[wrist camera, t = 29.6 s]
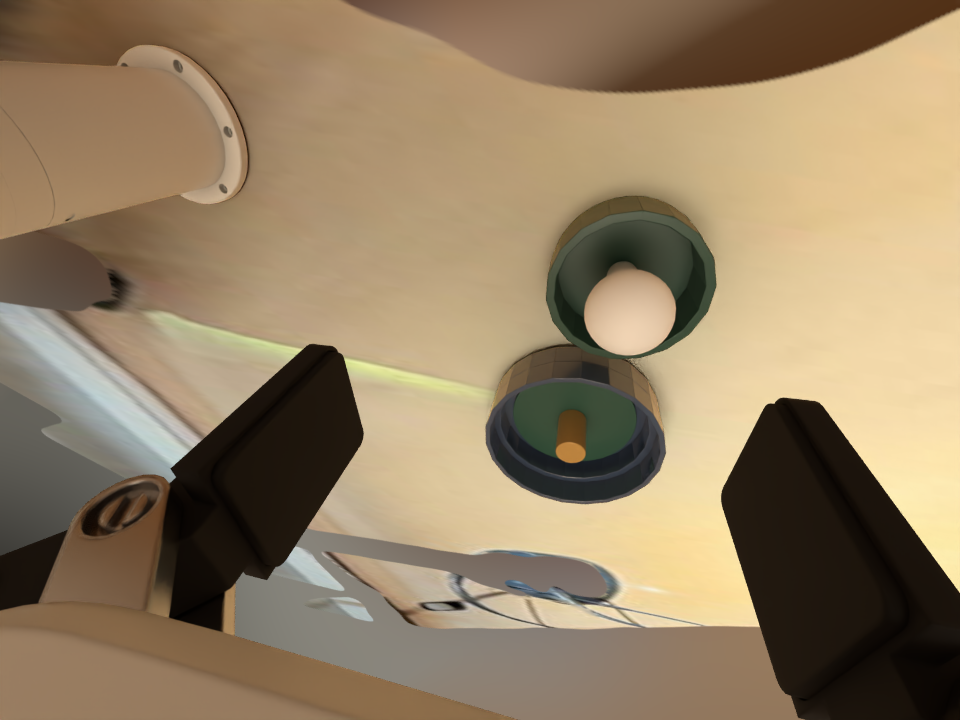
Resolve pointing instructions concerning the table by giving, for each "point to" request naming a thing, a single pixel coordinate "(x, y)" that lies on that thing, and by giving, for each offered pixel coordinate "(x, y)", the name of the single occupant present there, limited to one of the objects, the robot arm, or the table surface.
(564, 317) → the tin
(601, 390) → the tin lid
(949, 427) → the table surface
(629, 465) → the bowl
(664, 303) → the lightbulb
